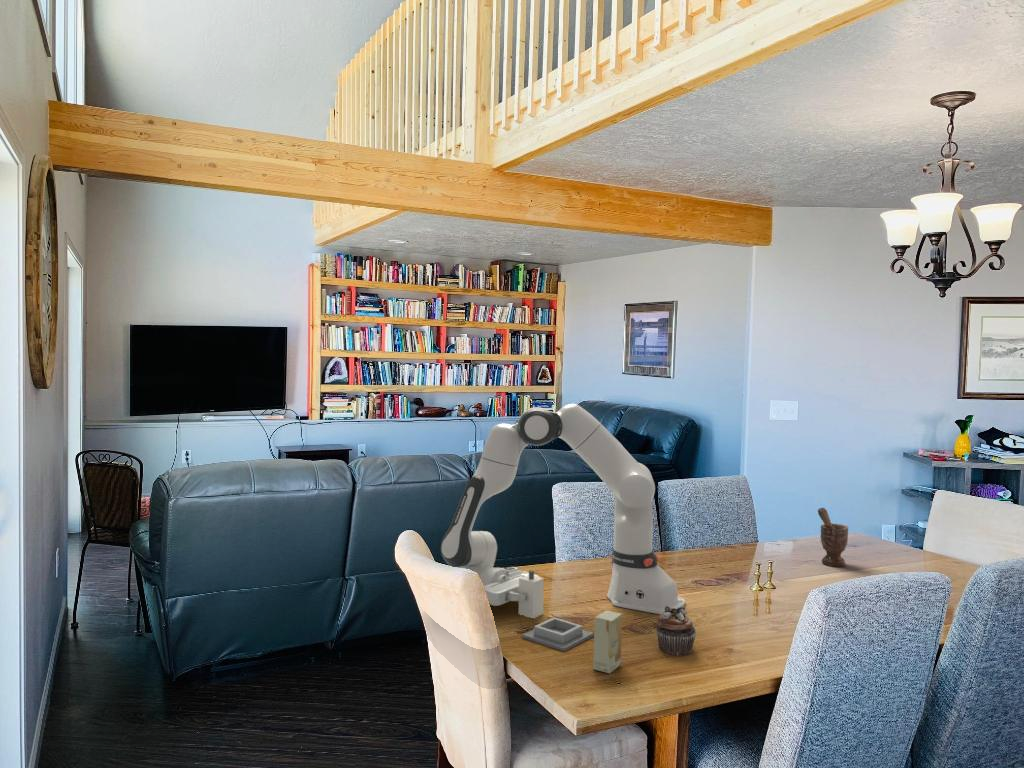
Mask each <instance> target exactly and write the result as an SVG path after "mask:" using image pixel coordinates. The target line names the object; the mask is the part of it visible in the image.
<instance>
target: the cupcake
mask: <svg viewBox="0 0 1024 768" xmlns="http://www.w3.org/2000/svg"><path fill="white" fill-rule="evenodd" d="M686 615H687V610H686V608H685V607H683V608H682V607H680V608H678V609H677V610H676V609H675V608H673V609H671V608H669V607H668V606H666V607H665V609H664V614H659V616H657V618H656V619H657V620H656V624H655V630H656V636H657V642H658V647H659V651H661V652H663V653H664V654H665V653H666V654H668V655H672V656H687V655H690V654H691V653H692V652H693V648H694V643H695V640H696V635H697V630H696V628H695V627H694V625H693V624H694V623H693V621H692V620H691V618H690V617H688V616H686Z"/></svg>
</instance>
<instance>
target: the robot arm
mask: <svg viewBox="0 0 1024 768" xmlns="http://www.w3.org/2000/svg"><path fill="white" fill-rule="evenodd" d="M558 438H559V439H561V440H562V441H564V442H565V443H566V444H567V445H568V446H569V447H570V448H571V450H573V451H574V452H575V453H576V454H577V455H578V456H579V457H580V458H581V459H582V460H583V461H584V462H585V463H586V464H587V466H588V467H590V468H591V469H592V470H593V471H594V472H595V474H596V475H597V476H598V477H599V478H600V479H601V480H602V482H603V483H604V484H605V485H606V487H607V488H608V489H609V490H610V491H611V492H612V493H613V494H614V513H613V514H614V526H613V532H614V533H613V548H612V550H611V551H612V552H611V553H612V554H611V565H612V572H611V573H612V574H611V578H610V584H609V588H608V592H607V594H606V597H607V599H609V600H610V602H611V604H612V606H615V607H620V608H625V609H630V610H636V611H641V612H644V613H645V612H646V613H652V614H657V615H661V614H664V609H665V607H666V606H668V607H669V608H671V609H673V608H675V609H676V610H677V609H678V608H680V607H682V608H685V606H686V600H685V598H682V597H680V596H678V595H679V594H678V588H677V584H676V581H674V579H673V578H672V577H670V575H669V574H668V573H667V572H666V571H664V570H663V568H661V567H660V566H659V565H658V560H660V559H661V554H659V555H656V554H655V553H654V552H655V551H654V550H653V529H654V523H653V520H654V519H653V498H654V496H655V494H656V493H655V492H656V484H655V481H654V479H653V476H652V473H651V471H650V469H649V468H648V467H647V466H646V465H645V464H643V463H640V462H638V461H637V459H635V458H634V457H633V456H632V455H631V453H629V451H628V450H627V449H626V448H625V447H624V446H623V444H622V443H621V442H620V441H619V440H618V439H617V438H616V437H615V436H613V433H611V432H610V431H609V430H608V429H607V428H606V427H605V426H604V425H603V424H602V423H601V422H600V421H599V420H598V419H597V418H596V417H595V416H594V415H592V414H591V413H590V412H588V411H587V409H585V408H584V407H581V406H580V405H579V404H577V403H569V404H568V403H567V404H566V405H564V406H562V407H561V408H560V409H559V410H557V411H555V412H554V411H551V410H547V409H545V408H543V407H539V406H536V407H531V408H528V409H526V410H525V411H524V412H523V413H522V414H521V415H520V417H519V419H517V421H516V422H515V423H514V424H513V423H498V424H495V425H494V426H493V427H492V428H491V429H490V432H489V433H488V436H487V438H486V441H485V444H484V447H483V450H482V452H481V457H480V460H479V463H478V465H477V468H476V470H475V472H474V473H473V475H472V477H471V478H469V480H468V481H467V483H466V485H465V487H464V489H463V491H462V494H461V496H460V499H459V501H458V505H457V507H456V510H455V513H454V515H453V518H452V521H451V523H450V525H449V527H448V529H447V531H446V533H445V534H444V536H443V538H442V540H441V542H440V543H441V544H440V552H441V556H442V559H443V560H444V562H445V563H446V564H447V565H448V567H449V566H452V567H458V568H466V569H470V570H472V571H475V572H477V573H478V575H479V577H480V579H481V581H482V583H483V585H484V588H485V592H486V594H487V598H488V601H489V603H490V604H489V605H490V606H495V607H499V606H501V605H505V604H506V603H508V602H519V601H521V602H524V601H526V600H527V595H526V594H524V593H521V594H519V578H521V577H524V576H527V575H529V571H525V570H520V569H519V568H518V567H516V566H508V567H494V566H495V563H496V559H497V554H498V541H497V539H496V537H495V535H493V534H492V533H491V532H489V531H487V530H485V531H484V530H473V527H474V523H475V522H476V518H477V516H478V513H479V510H480V508H481V507H482V505H483V504H484V502H486V500H488V499H490V498H492V497H493V496H495V495H498V494H500V493H502V492H505V491H506V490H507V489H509V488H510V487H511V486H512V485H513V482H514V480H515V478H516V475H517V471H518V467H519V462H520V458H521V455H522V452H523V451H524V449H525V447H527V446H529V445H530V446H534V447H538V446H540V447H541V446H544V445H546V444H548V443H550V442H552V441H553V440H555V439H558ZM534 576H537V577H540V575H538V574H535V573H534Z"/></svg>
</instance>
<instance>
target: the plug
mask: <svg viewBox="0 0 1024 768" xmlns="http://www.w3.org/2000/svg"><path fill="white" fill-rule="evenodd" d="M528 572H529V575H527V576H524V577H521V578H519V594H521V593H524V594H526V595H527V600H526V601H524V602H521V601H518V615H519V614H520V615H519V616H522V615H524V616H523V617H525V618H529V617H530V618H529V619H532V618H534V619H536V618H538V617H540V616H543V615H544V584H545V582H544V577H541V576H539V577H537V576H534V574H535V571H534V570H533V569H532V570H531V569H530V570H528ZM539 615H540V616H539Z"/></svg>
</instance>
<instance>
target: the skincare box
mask: <svg viewBox="0 0 1024 768" xmlns="http://www.w3.org/2000/svg"><path fill="white" fill-rule="evenodd" d="M622 620H623V613H620V612H616V611H615V612H614V611H611V610H604V611H603V612H600V613H599V614H598V615H596V616H595V617H594V630H593V631H594V632H593V633H594V636H593V639H594V640H593V664H592V665H593V666H592V667H593V670H594V671H599V672H603V673H607V674H611V673H612V672H614V671H615V670H616V669H617V668H618V667H620V666H621V663H622V662H621V659H622V658H621V657H622V656H621V655H622V654H621V653H622V626H623V625H622V624H623V623H622V622H623V621H622Z"/></svg>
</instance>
